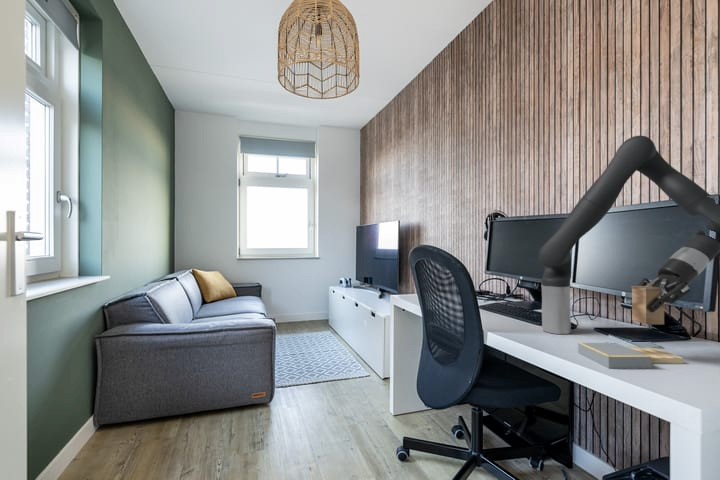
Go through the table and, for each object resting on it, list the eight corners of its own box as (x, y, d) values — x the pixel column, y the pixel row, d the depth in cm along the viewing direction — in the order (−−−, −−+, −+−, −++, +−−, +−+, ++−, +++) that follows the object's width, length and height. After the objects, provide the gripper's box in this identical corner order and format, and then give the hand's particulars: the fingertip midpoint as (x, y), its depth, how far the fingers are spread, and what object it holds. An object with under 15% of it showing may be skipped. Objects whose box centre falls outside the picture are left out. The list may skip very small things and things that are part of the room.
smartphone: (641, 347, 106) (607, 334, 121) (641, 351, 106) (607, 337, 121) (665, 347, 106) (627, 333, 121) (665, 350, 106) (627, 336, 121)
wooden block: (631, 320, 101) (631, 286, 101) (649, 320, 100) (649, 286, 100) (645, 324, 95) (645, 288, 95) (664, 324, 95) (664, 288, 95)
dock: (578, 352, 102) (578, 342, 102) (615, 352, 102) (615, 342, 102) (608, 368, 89) (608, 356, 89) (651, 368, 89) (651, 356, 89)
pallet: (619, 352, 103) (619, 347, 103) (652, 352, 102) (652, 346, 102) (646, 363, 93) (646, 357, 93) (683, 363, 92) (683, 357, 92)
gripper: (653, 256, 105) (613, 295, 105) (698, 258, 91) (652, 303, 91) (670, 273, 105) (631, 312, 105) (718, 278, 90) (672, 323, 91)
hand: (641, 307), depth 98 cm, fingers closed on wooden block, 5 cm apart
